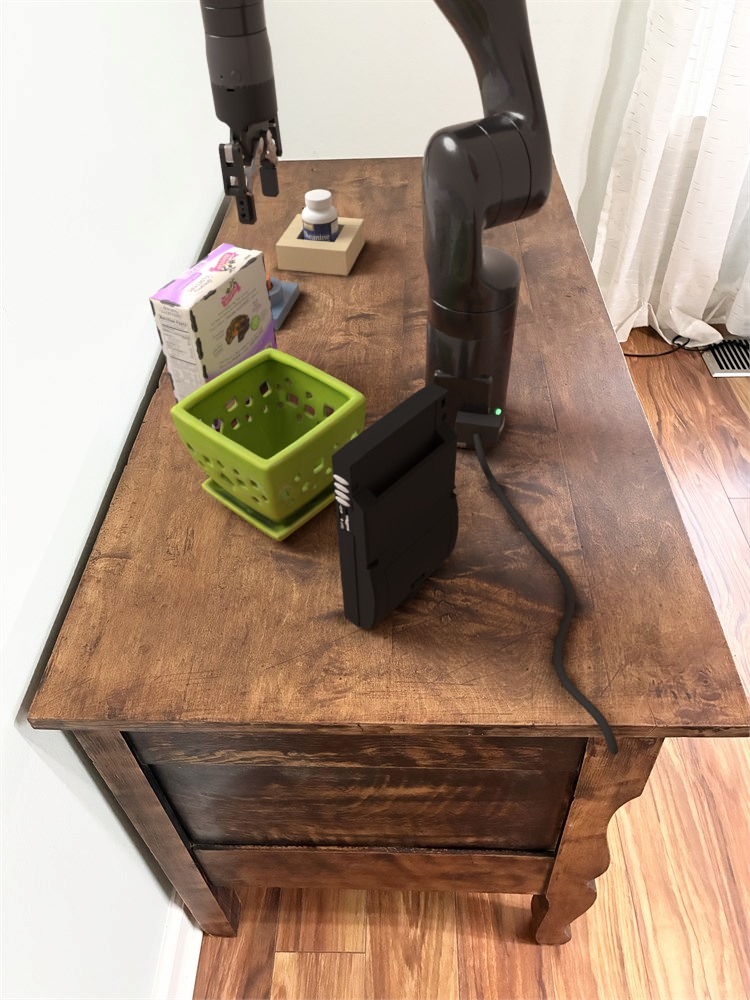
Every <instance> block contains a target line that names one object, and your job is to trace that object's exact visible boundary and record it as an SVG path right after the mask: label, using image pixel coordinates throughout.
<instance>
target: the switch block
mask: <svg viewBox="0 0 750 1000" xmlns="http://www.w3.org/2000/svg"><path fill="white" fill-rule="evenodd" d="M269 276H270V281H271V290H269V295H270V302H271V309H272V315H273V322H274V329H275V331H278V330H280V328H281V326H282V325H283V322H284V321H285V319H286V317H287V316H288V315H289V313H290V311H291V309H292V308H293V307H294V304H295V303H296V301H297V299H298V298H299V296H300V295H301V291H300V283H297V282H286V281H280V279H278V278H276V277H274V276H271V275H269Z"/></svg>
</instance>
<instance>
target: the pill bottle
mask: <svg viewBox="0 0 750 1000" xmlns="http://www.w3.org/2000/svg"><path fill="white" fill-rule="evenodd" d="M304 204H305V207H304V208H303V210H302V212H301V214H302V221H303V231H304V240H314V241H325V242H335V241H336V239H337V237H338V235H339V233H338V217H339V216H338V211H337V208H336V207H335V206H334V205H332V204H333V197H332V193H331V191H330V190H326V189H320V188H319V189H313V190H310V191H307V192H306V193H305V194H304Z"/></svg>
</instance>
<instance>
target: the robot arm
mask: <svg viewBox="0 0 750 1000" xmlns="http://www.w3.org/2000/svg"><path fill="white" fill-rule="evenodd" d="M432 1H433V3H434V4H435V5H436V6H435V7H437V8H438V10H439V11H440V13H441V14H442V16H443V17H444V18H445V20H446V21H447V22H448V24H449V25H450V27H451V28H452V30H453V31H454V33H455V34H456V36H457V37H458V39H459V40H460V42H461V43H462V46H463V47H464V49H465V51H466V53H467V55H468V58H469V60H470V62H471V65H472V68H473V72H474V75H475V79H476V81H477V85H478V91H479V95H480V100H481V105H482V112H483V117H482V118H476V119H473V120H469V121H464V122H460V123H456V124H455V123H454V124H451V125H448V126H444V127H442V128H439V129H437V130H436V131H435V132H433V134H432V135H431V136H430V137H429V139H428V141H427V142H426V144H425V149H424V152H423V156H422V162H421V163H422V164H421V174H420V175H421V177H420V178H421V180H420V181H421V182H420V183H421V207H422V246H423V258H424V264H425V269H426V274H427V305H426V306H427V309H426V312H427V313H426V337H425V339H426V341H425V342H426V343H425V345H426V346H425V375H424V376H425V379H424V387H425V386H426V385H428V384H429V383H431V382H433V383H435V384H437V385H439V386H441V387H443V388H445V389H447V390H449V395H448V399H447V403H448V409H447V420H446V421H447V422H448V423H449V425H450V426H451V428H452V429H453V430H454V432H455V433H456V434H457V448H463V449H469V450H470V449H471V450H475V451H476V452H475V453H476V456H477V459H478V462H479V465H480V468H481V470H482V473H483V475H484V476H485V478H486V480H487V482H488V483H489V485H490V487H491V489H492V491H493V492H494V494H495V495H496V496H497V498H498V499H499V501H500V502H501V504H502V505H503V507H504V508H505V511H506V512H507V513H508V515H509V516H510V517H511V519H512V520H513V522H514V523H515V524H516V526H517V527H518V528H519V530H520V531H521V533H522V534H523V536H524V537H525V539H526V540H527V541H528V542H529V543H530V544H531V545H532V547H533V548H534V549H535V550H536V552H538V553H539V554H540V555H541V556H542V557H543V558H544V560H545V561H547V563H548V564H549V565H550V566H551V568H552V569H553V571H554V572H555V573H556V574H557V576H558V578H559V580H560V583H561V584H562V588H563V590H564V594H565V610H564V614H563V617H562V619H561V622H560V624H559V627H558V630H557V633H556V636H555V638H554V643H553V651H552V658H553V659H552V661H553V665H554V670H555V673H556V676H557V678H558V680H559V682H560V683H561V685H562V687H563V688H564V689H565V691H566V692H567V693H568V694H569V695H570V697H572V698H573V699H574V700H575V701H576V702H577V703H578V704H579V705H580V706H581V707H582V708H583V709H584V710H585V711H586V712H587V713H588V714H589V715H590V717H592V719H593V720H594V722H596V724H597V725H598V727H599V728H600V730H601V732H602V734H603V738H604V739H605V742H606V746H607V750H608V751H609V752H610V753H609V754H612V755H618V754H619V747H618V742H617V739H616V736H615V734H614V732H613V729H612V727H611V725H610V724H609V721H608V720H607V718H606V717H605V715H604V714H603V713H602V712H601V711H600V709H599V708H597V706H596V705H595V704H594V703H593V702H592V701H591V700H590V699H589V698H587V697H586V696H585V695H584V694H583V693H582V692H581V691H580V690H579V689H578V688H577V686H576V685H574V683H573V682H572V680H571V679H570V677H569V675H568V673H567V670H566V669H565V666H564V665H565V664H564V661H563V647H564V643H565V639H566V636H567V633H568V631H569V628H570V626H571V623H572V619H573V617H574V612H575V607H576V598H575V592H574V591H575V590H574V588H573V584H572V581H571V579H570V577H569V575H568V574H567V572H566V570H565V569H564V567H563V566H562V564H560V562H559V561H558V560H557V559H556V557H555V556H554V555H553V554H552V553H551V552H550V551H549V550H548V549H547V548H546V547H545V546H544V544H542V543H541V542H540V540H539V539H538V538H537V537H536V535H535V534H534V533H533V531H531V529H530V528H529V526H528V525H527V523H526V522H525V521H524V519H523V518H522V517H521V515H520V514H519V513H518V512H517V510H516V508H515V507H514V506H513V504H512V503H511V502H510V500H509V499H508V497H507V496H506V495H505V493H504V491H503V489H502V488H501V486H500V484H499V483H498V481H497V479H496V477H495V475H494V474H493V472H492V470H491V468H490V466H489V463H488V461H487V457H486V454H485V450H486V447H491V448H497V447H498V443H499V437H500V436H501V434H502V433H503V431H504V428H505V420H506V419H505V414H506V413H505V412H506V406H507V395H508V388H509V387H508V386H509V378H510V370H511V362H512V356H513V355H512V354H513V347H514V337H515V330H516V321H517V314H518V307H519V298H520V290H521V281H522V269H521V265H520V264H519V262H518V260H517V259H516V258H515V257H514V256H513V255H511V254H510V253H508V252H507V251H505V250H503V249H501V248H499V247H495V246H493V245H488V244H484V243H483V241H484V240H483V238H484V231H486V230H491V229H493V228H497V227H500V226H504V225H508V224H511V223H514V222H518V221H521V220H524V219H525V220H526V219H528V218H530V217H533V216H535V215H537V214H538V213H539V212H541V211H542V210H543V208H544V207H545V206H546V204H547V202H548V200H549V197H550V195H551V191H552V187H553V179H554V159H553V157H554V156H553V147H552V141H551V139H552V138H551V132H550V128H549V123H548V118H547V117H548V116H547V111H546V108H545V107H546V106H545V101H544V97H543V91H542V86H541V82H540V81H541V80H540V77H539V72H538V66H537V61H536V57H535V51H534V46H533V41H532V35H531V28H530V21H529V14H528V6H527V0H432ZM199 7H200V14H201V20H202V25H203V26H202V27H203V31H204V40H205V41H204V44H205V57H206V63H207V69H208V75H209V83H210V88H211V95H212V100H213V106H214V113H215V116H216V119H217V120H218V121H220V122H222V123H224V124H225V125H226V126H227V127H228V129H229V142H228V143H222V142H221V143H219V144H218V155H219V162H220V170H221V177H222V184H223V190H224V195H225V196H227V197H234V198H235V204H236V211H237V214H238V215H237V217H238V222H239V223H240V224H242V225H250V226H251V225H252V226H253V225H255V224H256V223H257V221H258V217H257V209H256V203H255V194H254V193H253V192H254V184H255V183H254V182H255V179H256V178H258V176H259V179H260V186H261V193H262V195H263V196H264V197H266V198H267V197H268V198H277V197H278V196H279V195H280V186H279V185H280V184H279V177H278V170H277V168H278V166H279V163H280V162H279V158H282V156H283V143H282V138H281V137H282V136H281V131H280V122H279V114H278V111H279V108H278V107H279V106H278V99H277V97H278V96H277V88H276V80H275V72H274V71H275V70H274V63H273V62H274V61H273V52H272V45H271V42H270V37H269V33H268V27H267V19H266V9H265V1H264V0H199Z"/></svg>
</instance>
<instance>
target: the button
mask: <svg viewBox="0 0 750 1000" xmlns="http://www.w3.org/2000/svg"><path fill="white" fill-rule="evenodd" d="M266 276H267V282H268V289H269V290H271V281H270V276H271V275H269V273H267V272H266Z"/></svg>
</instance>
